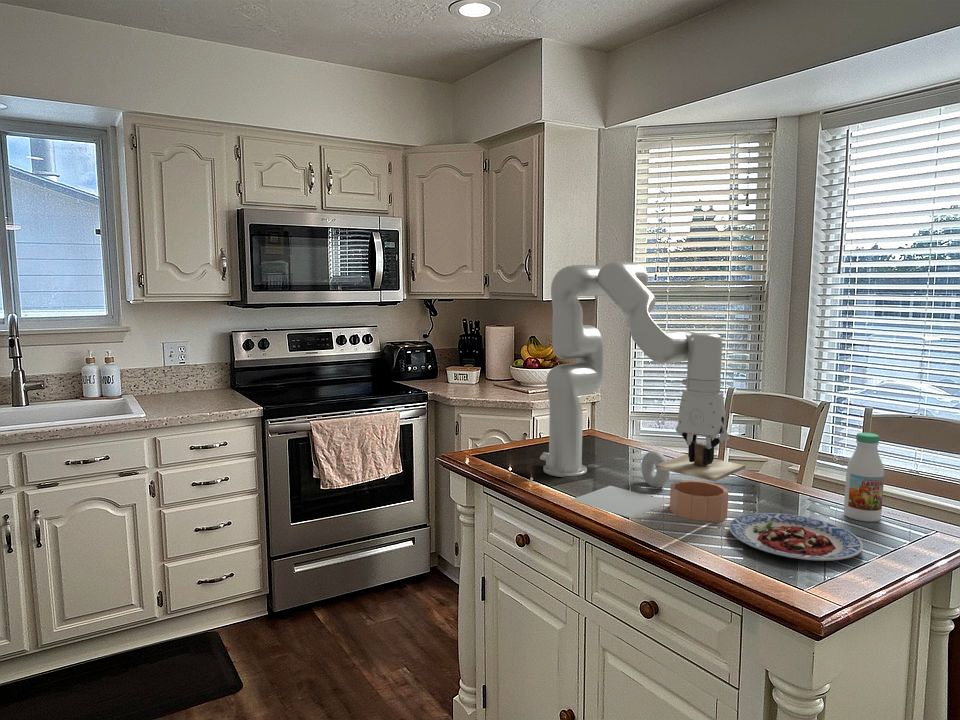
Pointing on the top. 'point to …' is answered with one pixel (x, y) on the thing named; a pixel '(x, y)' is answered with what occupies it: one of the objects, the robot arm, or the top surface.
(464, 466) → the top surface
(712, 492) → the bowl
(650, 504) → the mat
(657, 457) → the donut
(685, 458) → the lid
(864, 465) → the milk bottle
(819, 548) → the ceramic plate
